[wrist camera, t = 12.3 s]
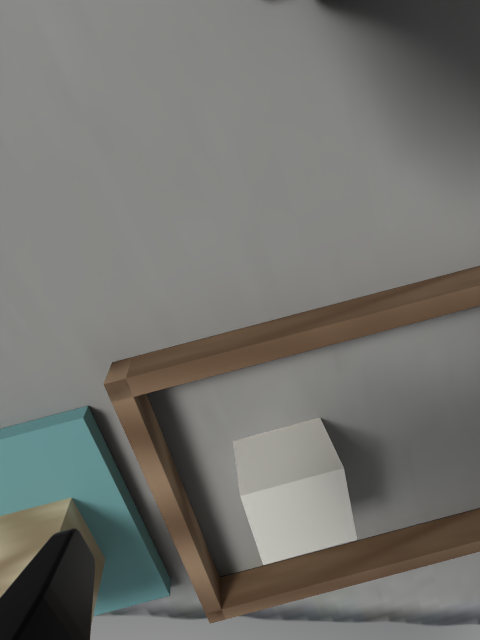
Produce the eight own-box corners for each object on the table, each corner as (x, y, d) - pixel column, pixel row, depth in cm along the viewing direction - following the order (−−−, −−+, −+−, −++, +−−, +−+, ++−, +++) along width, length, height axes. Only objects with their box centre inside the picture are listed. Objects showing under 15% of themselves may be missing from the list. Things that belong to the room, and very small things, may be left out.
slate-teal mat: (-104, 456, 20) (-118, 470, 19) (88, 405, 20) (83, 417, 19) (20, 619, 26) (14, 637, 25) (170, 579, 26) (169, 595, 25)
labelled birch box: (71, 497, 21) (32, 605, 16) (107, 561, 23) (82, 675, 18) (-21, 521, 21) (-88, 637, 16) (23, 583, 23) (-25, 704, 18)
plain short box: (232, 439, 22) (240, 496, 19) (319, 416, 22) (343, 468, 19) (252, 502, 24) (263, 565, 21) (332, 481, 24) (357, 539, 21)
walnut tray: (112, 362, 19) (103, 384, 18) (605, 232, 20) (648, 241, 18) (208, 590, 27) (210, 623, 25) (569, 494, 27) (597, 519, 25)
